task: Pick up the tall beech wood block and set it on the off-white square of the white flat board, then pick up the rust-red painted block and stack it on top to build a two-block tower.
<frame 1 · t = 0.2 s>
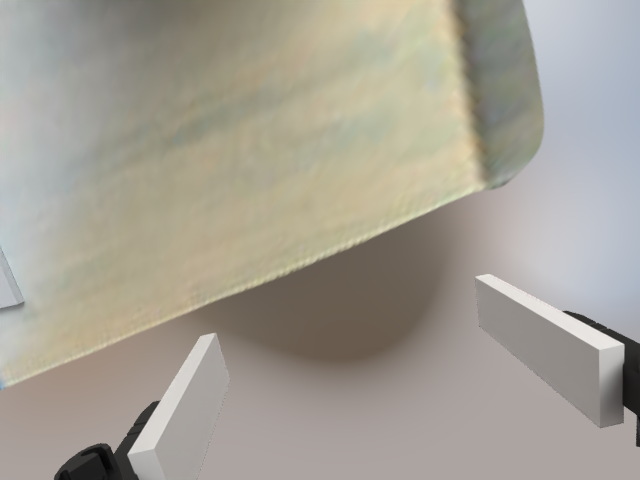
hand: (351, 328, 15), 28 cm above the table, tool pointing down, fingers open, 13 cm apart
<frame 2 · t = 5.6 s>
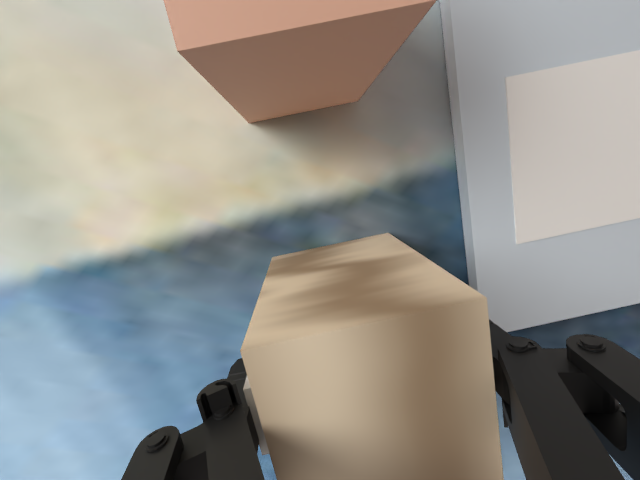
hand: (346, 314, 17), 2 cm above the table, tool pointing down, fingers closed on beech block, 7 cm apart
white flat board: (574, 150, 18), on the table
terracotta block: (291, 51, 16), on the table
beech block: (341, 299, 19), on the table, touching gripper
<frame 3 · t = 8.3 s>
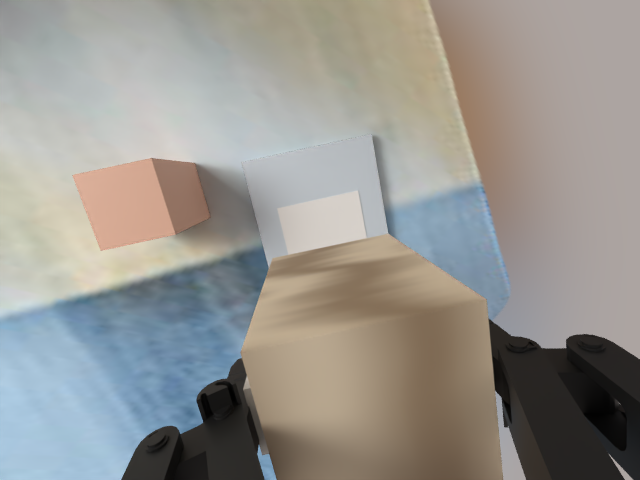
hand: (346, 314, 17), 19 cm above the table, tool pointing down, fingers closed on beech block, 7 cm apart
white flat board: (325, 237, 36), on the table
terracotta block: (175, 196, 34), on the table
beech block: (341, 300, 19), point 17 cm above the table, touching gripper
when the fingers open (5 cm above the table, at t = 11.5 s): beech block drops 1 cm, resting on white flat board.
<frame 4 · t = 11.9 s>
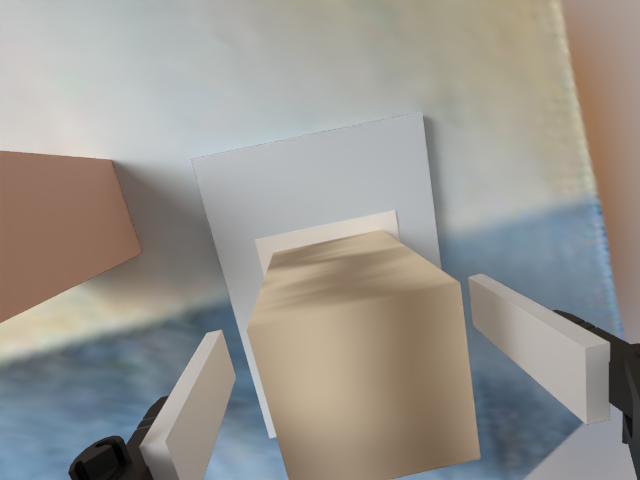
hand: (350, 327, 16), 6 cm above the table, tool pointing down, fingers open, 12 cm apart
white flat board: (336, 285, 22), on the table
terracotta block: (80, 217, 20), on the table
beech block: (337, 291, 20), point 1 cm above the table, touching white flat board
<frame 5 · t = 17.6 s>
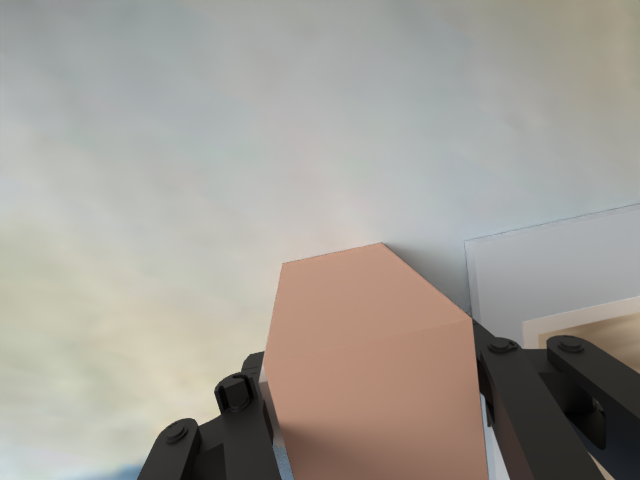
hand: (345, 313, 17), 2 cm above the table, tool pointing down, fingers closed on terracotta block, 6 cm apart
white flat board: (579, 360, 21), on the table
terracotta block: (341, 299, 19), on the table, touching gripper
beech block: (593, 371, 20), point 1 cm above the table, touching white flat board
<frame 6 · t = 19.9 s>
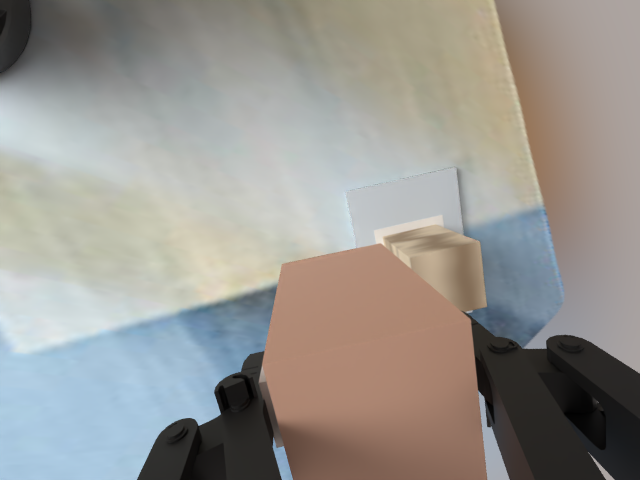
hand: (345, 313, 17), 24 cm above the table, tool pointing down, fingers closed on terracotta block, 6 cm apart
white flat board: (410, 253, 42), on the table
terracotta block: (340, 299, 19), point 22 cm above the table, touching gripper
beech block: (413, 256, 41), point 1 cm above the table, touching white flat board
when the fingers open (14 cm above the table, at t = 22.6 s): terracotta block drops 1 cm, resting on beech block.
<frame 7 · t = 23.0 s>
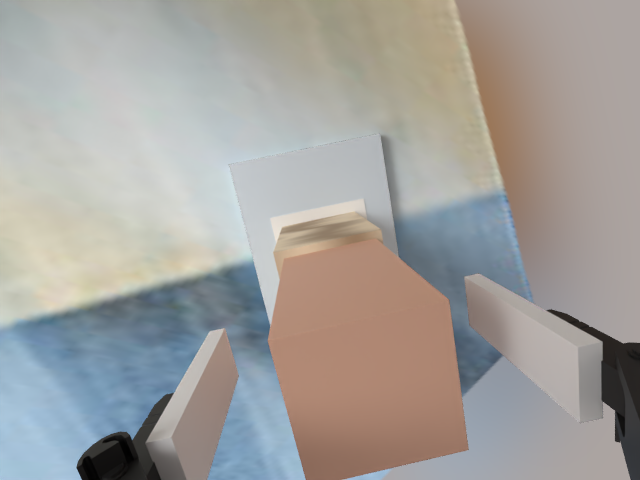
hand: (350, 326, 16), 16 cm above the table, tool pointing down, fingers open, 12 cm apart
white flat board: (325, 250, 31), on the table
terracotta block: (339, 291, 20), point 11 cm above the table, touching beech block
beech block: (325, 254, 30), point 1 cm above the table, touching white flat board, terracotta block
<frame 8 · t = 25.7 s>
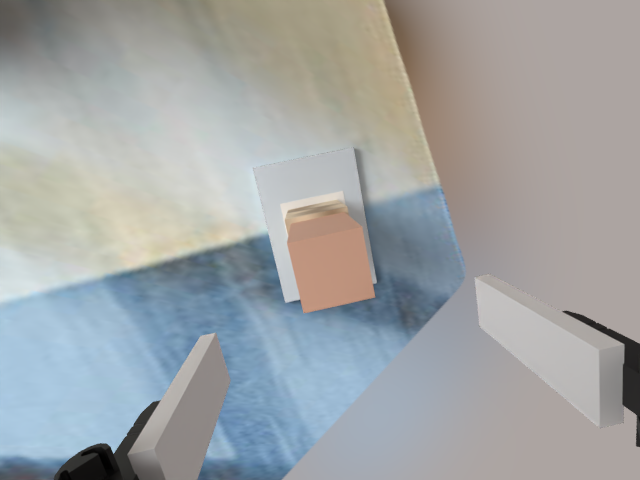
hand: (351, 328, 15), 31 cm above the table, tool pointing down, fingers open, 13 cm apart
white flat board: (317, 227, 45), on the table
terracotta block: (323, 243, 35), point 11 cm above the table, touching beech block
beech block: (317, 228, 44), point 1 cm above the table, touching white flat board, terracotta block
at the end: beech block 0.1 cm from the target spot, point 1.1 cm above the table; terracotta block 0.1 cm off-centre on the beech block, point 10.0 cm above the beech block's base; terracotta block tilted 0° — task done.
